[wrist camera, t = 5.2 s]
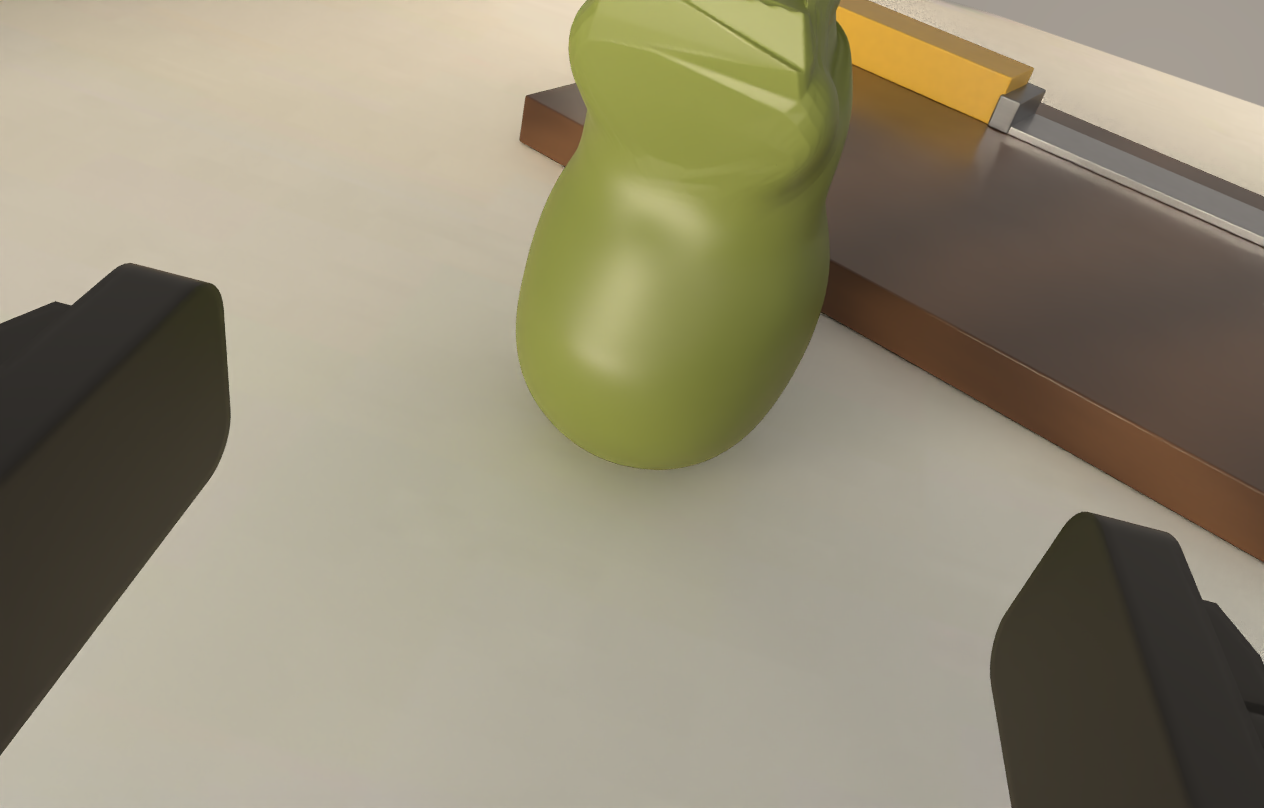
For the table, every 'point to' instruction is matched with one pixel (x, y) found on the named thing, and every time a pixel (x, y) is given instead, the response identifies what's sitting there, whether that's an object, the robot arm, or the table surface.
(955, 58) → the knife
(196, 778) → the table surface
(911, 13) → the table surface
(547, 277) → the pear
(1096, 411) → the cutting board
